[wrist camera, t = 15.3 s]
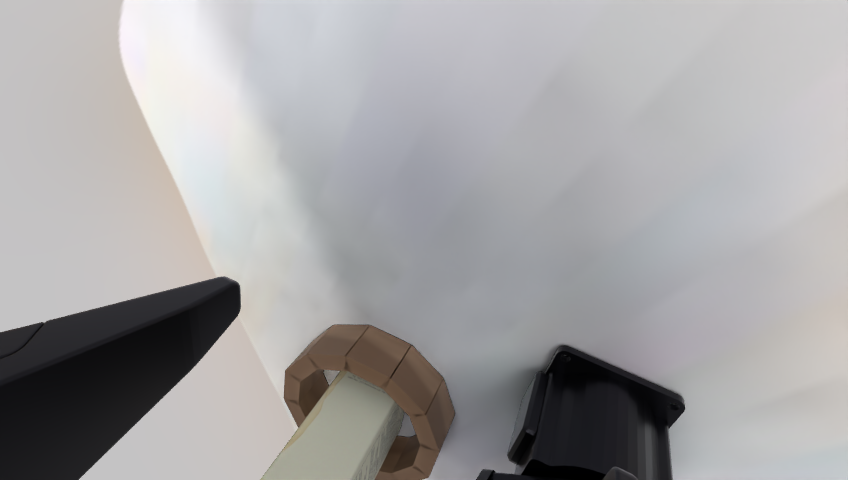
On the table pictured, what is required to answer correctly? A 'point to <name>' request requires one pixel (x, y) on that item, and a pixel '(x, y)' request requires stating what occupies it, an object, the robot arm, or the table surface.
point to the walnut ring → (389, 370)
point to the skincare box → (341, 434)
